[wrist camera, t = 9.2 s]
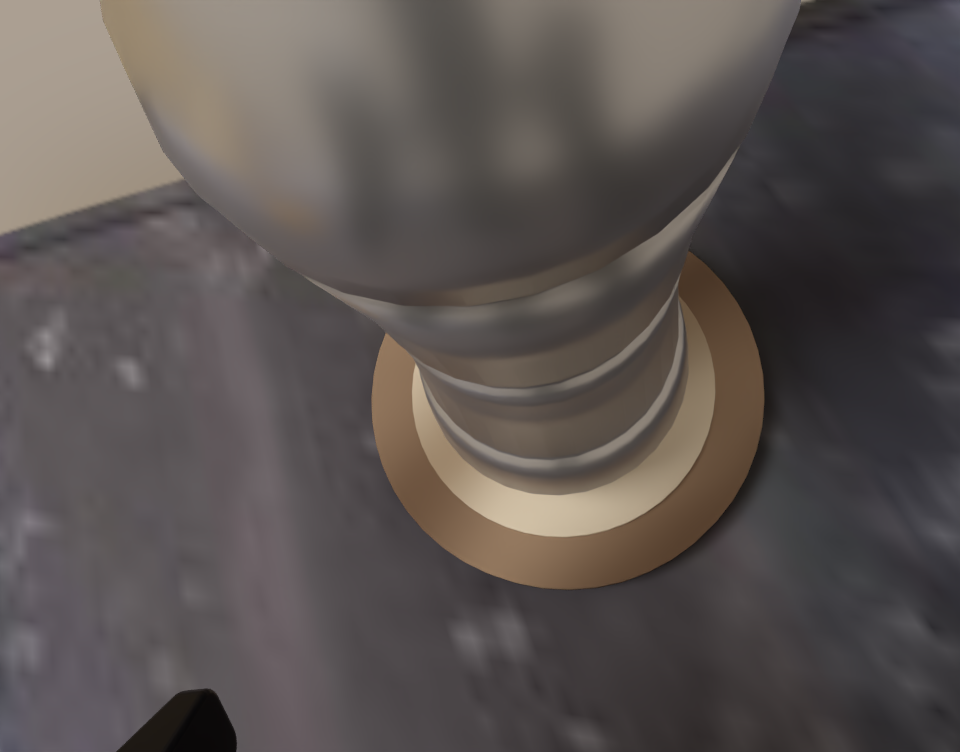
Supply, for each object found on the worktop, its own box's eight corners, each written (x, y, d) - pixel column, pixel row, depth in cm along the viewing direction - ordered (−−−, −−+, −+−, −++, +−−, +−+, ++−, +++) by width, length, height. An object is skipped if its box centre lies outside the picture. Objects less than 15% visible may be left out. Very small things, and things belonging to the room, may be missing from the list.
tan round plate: (839, 382, 21) (855, 365, 20) (574, 679, 20) (571, 684, 18) (552, 170, 25) (548, 143, 23) (313, 411, 23) (294, 398, 22)
